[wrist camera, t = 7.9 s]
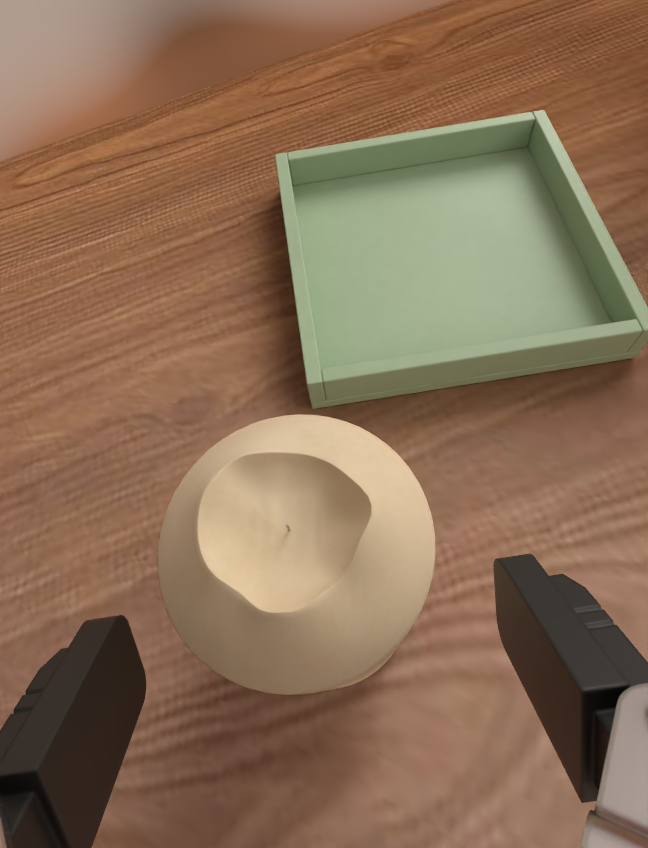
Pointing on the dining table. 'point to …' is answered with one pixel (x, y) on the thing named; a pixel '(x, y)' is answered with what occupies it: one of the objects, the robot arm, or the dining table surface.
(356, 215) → the tray
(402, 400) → the dining table surface
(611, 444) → the dining table surface
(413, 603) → the candle
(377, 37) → the dining table surface
